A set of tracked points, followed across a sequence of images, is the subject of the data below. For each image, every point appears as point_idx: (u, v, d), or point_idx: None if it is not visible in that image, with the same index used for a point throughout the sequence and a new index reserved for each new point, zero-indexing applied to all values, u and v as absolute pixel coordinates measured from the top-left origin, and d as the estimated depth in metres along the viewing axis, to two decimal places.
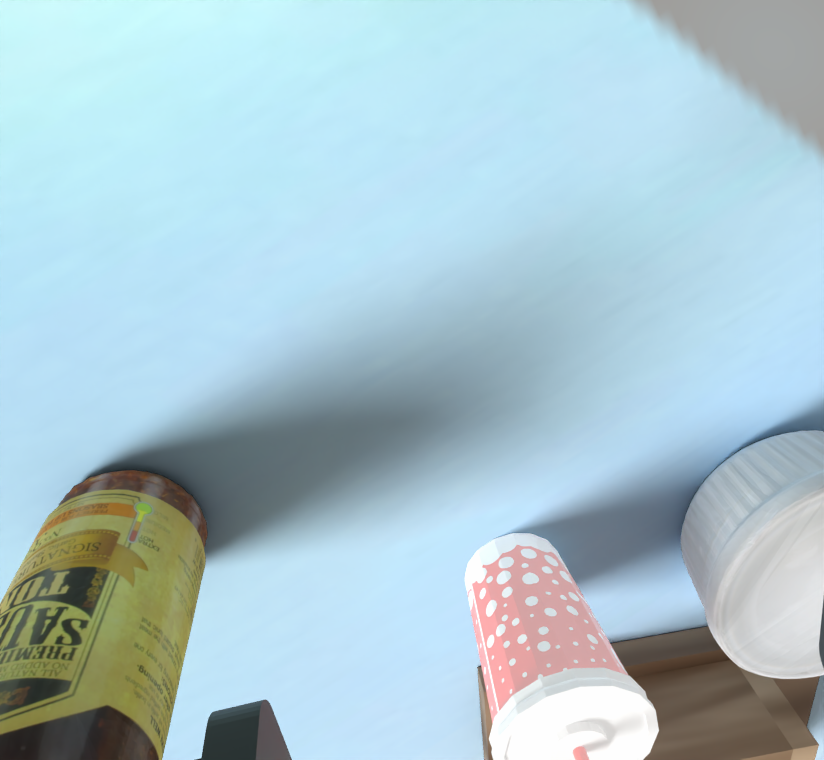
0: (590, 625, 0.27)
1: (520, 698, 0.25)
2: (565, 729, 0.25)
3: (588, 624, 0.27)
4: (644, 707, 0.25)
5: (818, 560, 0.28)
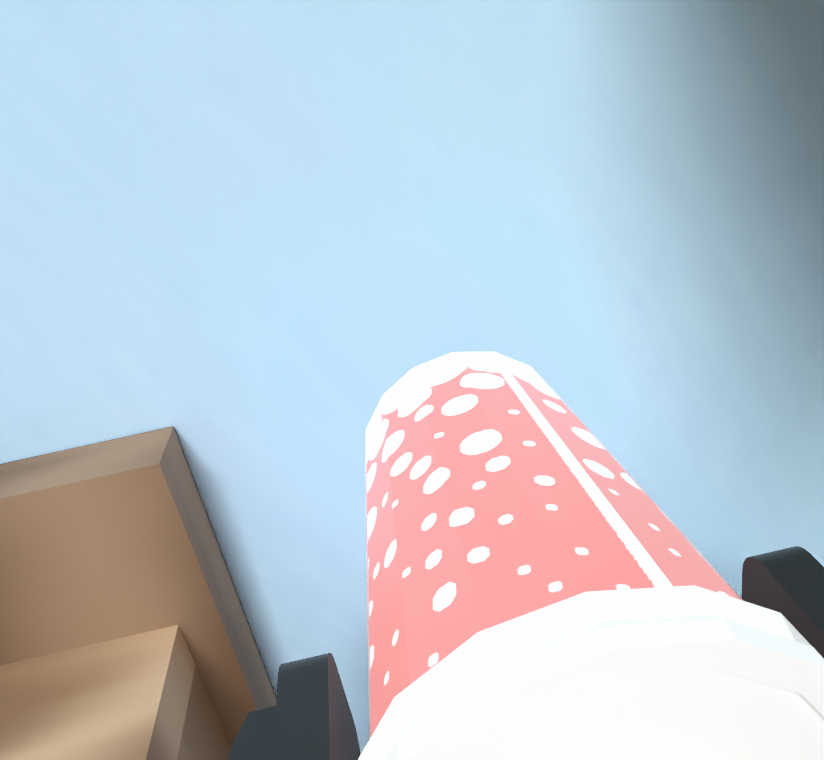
0: None
1: (800, 643, 0.08)
2: None
3: None
4: None
5: None
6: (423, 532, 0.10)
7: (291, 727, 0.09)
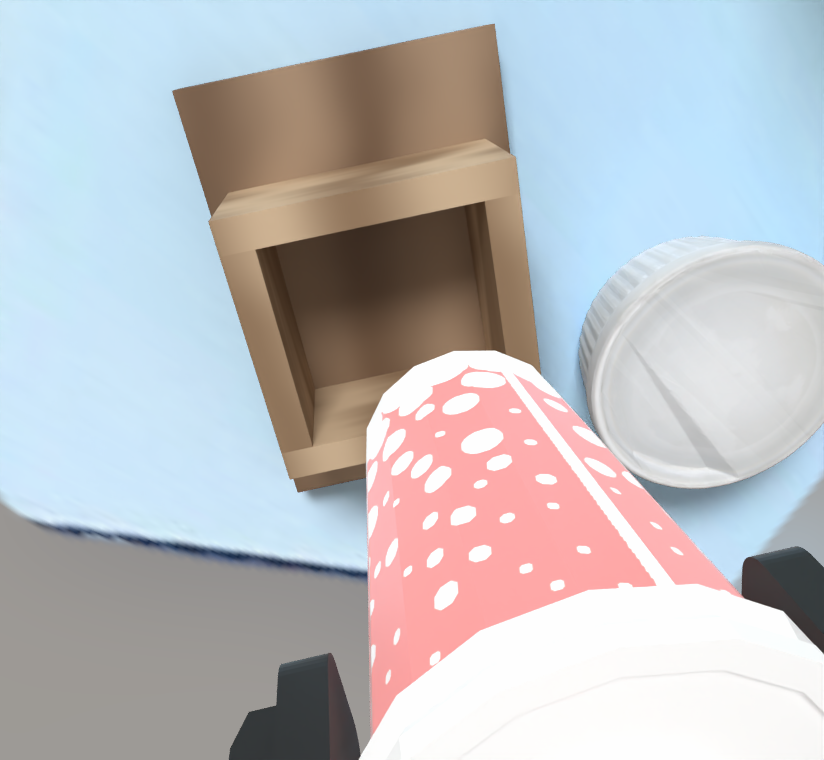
0: None
1: (802, 640, 0.08)
2: None
3: None
4: None
5: (769, 338, 0.29)
6: (424, 532, 0.10)
7: (291, 727, 0.09)
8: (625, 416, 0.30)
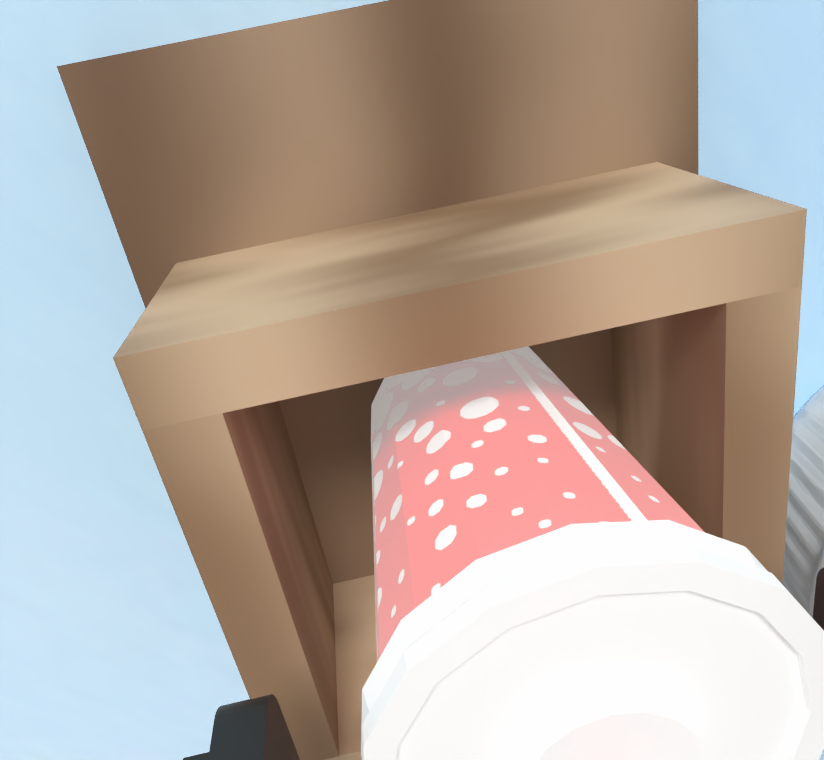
0: None
1: None
2: (684, 718, 0.09)
3: None
4: None
5: None
6: (426, 486, 0.11)
7: None
8: None
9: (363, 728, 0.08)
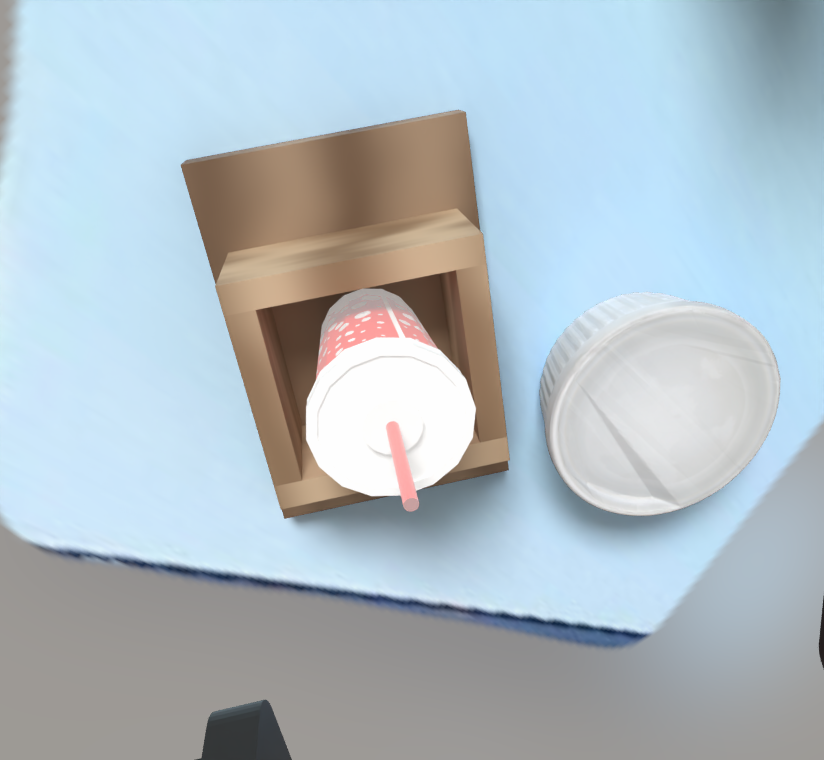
0: None
1: None
2: (417, 408, 0.25)
3: None
4: (439, 473, 0.26)
5: (703, 384, 0.33)
6: (336, 341, 0.27)
7: None
8: (579, 452, 0.34)
9: (306, 406, 0.25)
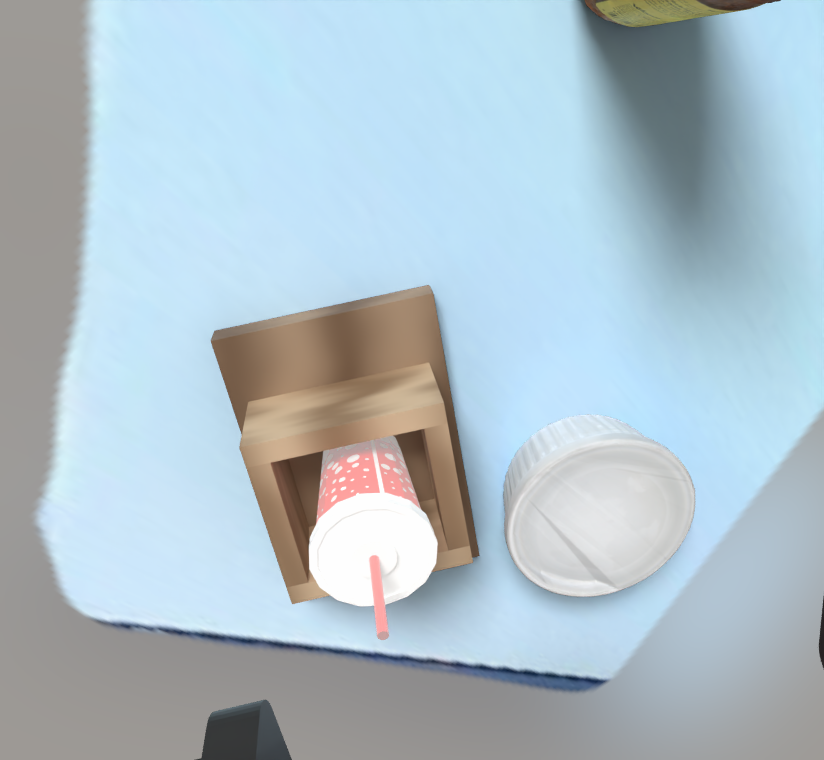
0: None
1: (412, 506, 0.33)
2: (393, 544, 0.33)
3: None
4: (411, 588, 0.34)
5: (631, 497, 0.40)
6: (332, 484, 0.35)
7: None
8: (533, 548, 0.42)
9: (309, 545, 0.33)
